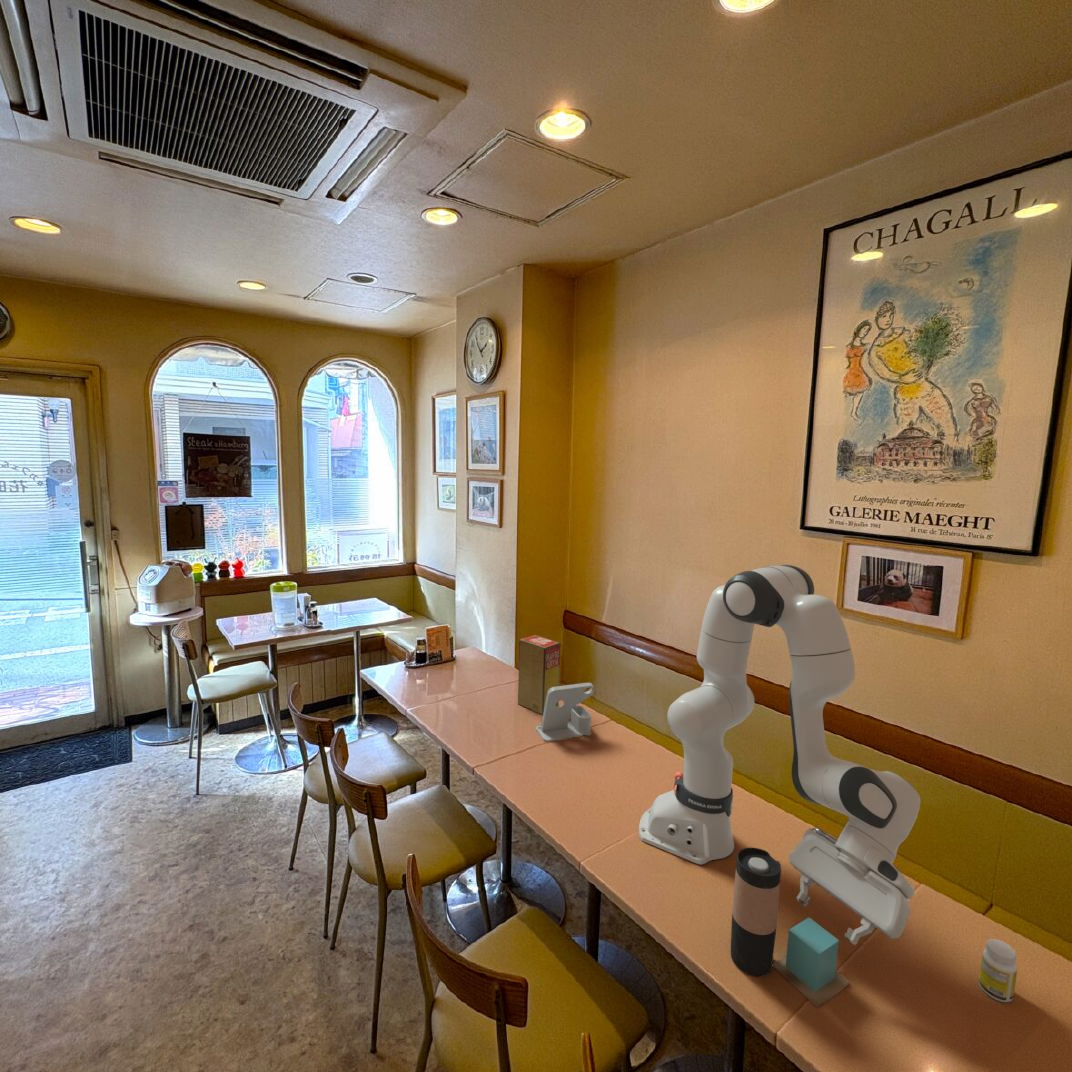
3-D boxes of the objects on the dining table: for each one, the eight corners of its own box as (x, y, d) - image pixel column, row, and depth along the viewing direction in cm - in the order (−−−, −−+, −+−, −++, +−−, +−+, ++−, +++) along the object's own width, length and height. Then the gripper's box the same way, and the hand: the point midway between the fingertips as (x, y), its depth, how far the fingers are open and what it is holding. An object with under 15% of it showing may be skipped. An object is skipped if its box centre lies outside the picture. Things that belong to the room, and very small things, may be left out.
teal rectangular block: (785, 966, 103) (788, 929, 102) (805, 953, 106) (808, 917, 105) (815, 992, 98) (818, 954, 97) (835, 978, 101) (839, 940, 100)
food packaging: (560, 707, 209) (561, 642, 205) (542, 715, 202) (544, 648, 199) (533, 696, 218) (535, 634, 214) (516, 704, 211) (517, 639, 208)
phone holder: (581, 721, 198) (583, 672, 196) (593, 734, 189) (595, 683, 186) (534, 728, 192) (535, 678, 190) (545, 742, 183) (546, 689, 181)
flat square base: (772, 966, 103) (775, 934, 103) (803, 945, 108) (806, 915, 107) (818, 1007, 96) (821, 973, 95) (849, 983, 100) (852, 951, 99)
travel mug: (728, 969, 103) (735, 869, 100) (729, 937, 110) (737, 842, 107) (773, 984, 100) (782, 881, 97) (772, 949, 107) (780, 853, 104)
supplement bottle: (997, 978, 102) (1003, 936, 101) (1020, 1003, 97) (1027, 959, 96) (971, 978, 102) (977, 936, 101) (993, 1003, 97) (999, 960, 96)
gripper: (805, 816, 114) (768, 876, 110) (914, 884, 96) (874, 959, 93) (817, 829, 116) (781, 889, 113) (924, 898, 99) (886, 971, 96)
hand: (824, 921), depth 103 cm, fingers open, 8 cm apart
